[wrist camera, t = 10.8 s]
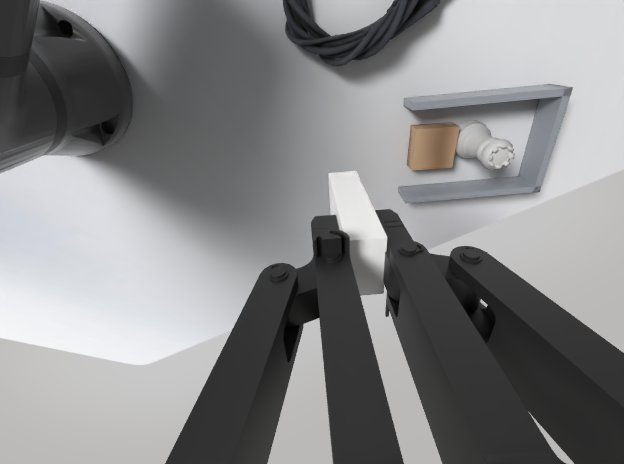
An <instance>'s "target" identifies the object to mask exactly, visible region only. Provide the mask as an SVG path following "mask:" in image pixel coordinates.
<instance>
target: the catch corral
mask: <svg viewBox="0 0 624 464" xmlns="http://www.w3.org/2000/svg"><path fill="white" fill-rule="evenodd" d="M572 89H573V87H567V86H560V85H553V84H546V85H536V86H525V87H515V88H505V89H494V90H484V91H474V92H463V93H453V94H443V95H432V96H422V97H412V98H404V106H406V107H407V108H409V109H411V110H412V111H415V110H425V109H435V108H446V107H456V106H467V105H477V104H488V103H498V102H509V101H519V100H530V99H539V102H538V106H537V109H536V113H535V117H534V120H533V124H532V128H531V131H530V135H529V138H528V142H527V146H526V149H525V153H524V157H523V160H522V164H521V168H520V171H519V175H518V176H516V177H505V178H494V179H483V180H471V181H460V182H449V183H438V184H426V185H415V186H404V187H399V190H398V193H399V194H400V196H401V197H402V199H403V200H404V202H405V203H416V202H428V201H439V200H451V199H462V198H474V197H485V196H497V195H508V194H520V193H531V192H540V189H541V185H542V182H543V179H544V176H545V173H546V170H547V167H548V164H549V161H550V157H551V154H552V151H553V148H554V145H555V142H556V139H557V136H558V132H559V129H560V126H561V123H562V120H563V117H564V114H565V111H566V108H567V104H568V101H569V98H570V95H571V92H572Z"/></svg>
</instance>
